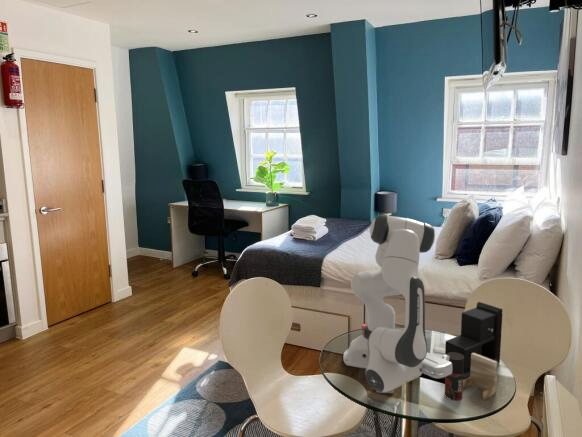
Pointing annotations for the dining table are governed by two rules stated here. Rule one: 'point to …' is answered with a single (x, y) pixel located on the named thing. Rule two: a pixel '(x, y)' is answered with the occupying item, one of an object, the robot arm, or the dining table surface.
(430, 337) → the dining table surface
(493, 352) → the bookend
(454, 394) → the deodorant
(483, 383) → the rack
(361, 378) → the dining table surface
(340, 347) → the dining table surface
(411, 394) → the dining table surface
